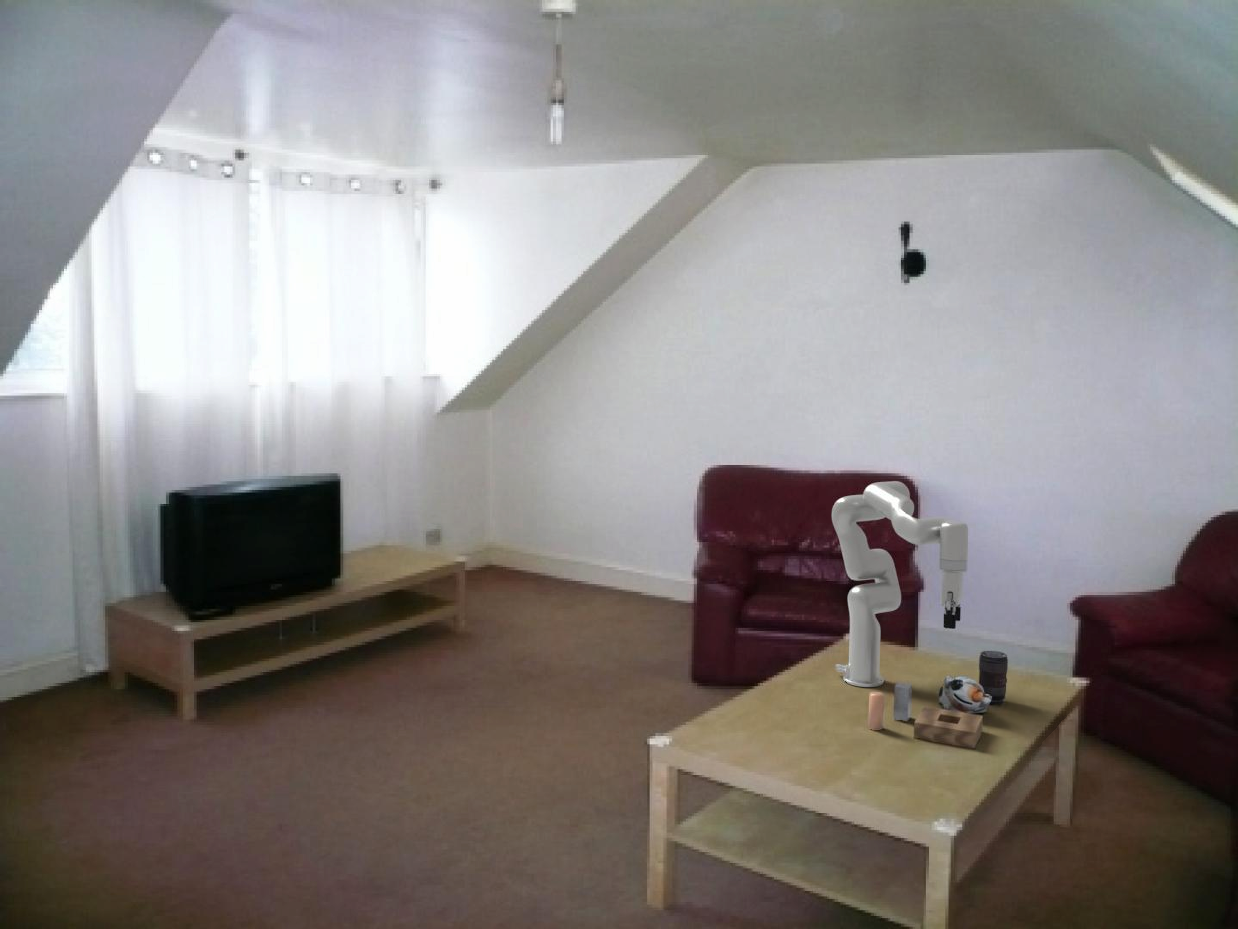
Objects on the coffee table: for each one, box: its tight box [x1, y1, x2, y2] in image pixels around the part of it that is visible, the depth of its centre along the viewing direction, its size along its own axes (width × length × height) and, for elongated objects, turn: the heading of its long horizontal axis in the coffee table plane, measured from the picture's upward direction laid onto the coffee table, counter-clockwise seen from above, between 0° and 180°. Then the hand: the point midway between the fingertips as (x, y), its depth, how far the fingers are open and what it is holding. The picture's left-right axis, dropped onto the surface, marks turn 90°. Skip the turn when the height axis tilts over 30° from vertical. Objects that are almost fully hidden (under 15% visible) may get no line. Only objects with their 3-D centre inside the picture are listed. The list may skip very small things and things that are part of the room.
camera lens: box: [978, 650, 1009, 706], centre depth 311 cm, size 8×8×15 cm
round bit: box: [867, 691, 885, 731], centre depth 290 cm, size 4×4×10 cm
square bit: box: [893, 681, 912, 722], centre depth 297 cm, size 4×4×10 cm
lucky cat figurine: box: [938, 675, 992, 714], centre depth 302 cm, size 15×12×14 cm
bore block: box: [913, 705, 984, 749], centre depth 286 cm, size 16×14×4 cm
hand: (952, 624), depth 293 cm, fingers open, 9 cm apart
